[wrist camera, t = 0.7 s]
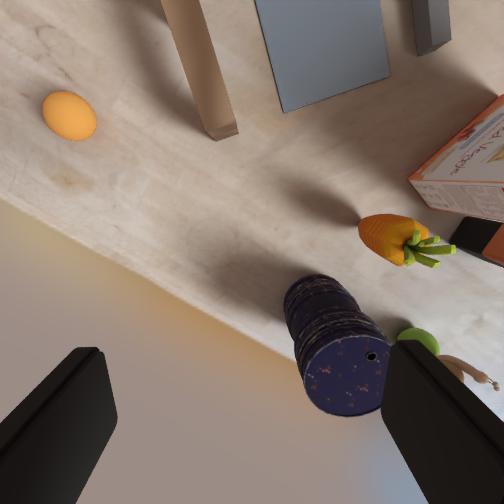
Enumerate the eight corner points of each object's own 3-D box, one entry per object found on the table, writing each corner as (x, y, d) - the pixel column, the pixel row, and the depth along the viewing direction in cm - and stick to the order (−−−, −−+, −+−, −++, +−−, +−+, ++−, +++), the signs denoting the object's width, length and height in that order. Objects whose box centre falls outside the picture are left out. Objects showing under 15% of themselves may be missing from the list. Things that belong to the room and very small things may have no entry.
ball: (55, 106, 31) (20, 93, 26) (93, 92, 30) (64, 76, 26) (76, 149, 32) (46, 144, 27) (112, 135, 32) (88, 129, 27)
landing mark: (251, -15, 28) (251, -16, 28) (369, -61, 27) (370, -63, 27) (283, 113, 31) (284, 112, 31) (389, 76, 30) (390, 75, 30)
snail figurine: (433, 340, 41) (505, 404, 30) (394, 355, 42) (450, 423, 30) (424, 313, 40) (496, 369, 28) (385, 329, 40) (439, 390, 29)
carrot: (339, 239, 36) (400, 281, 22) (347, 203, 35) (418, 224, 20) (374, 243, 36) (456, 288, 22) (383, 208, 35) (477, 231, 21)
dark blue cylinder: (323, 341, 41) (363, 431, 27) (270, 315, 39) (283, 395, 25) (360, 292, 39) (427, 361, 24) (305, 261, 37) (342, 316, 23)
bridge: (215, 141, 32) (204, 130, 24) (172, 10, 28) (140, -58, 20) (238, 133, 32) (235, 119, 24) (197, 0, 28) (176, -73, 20)
